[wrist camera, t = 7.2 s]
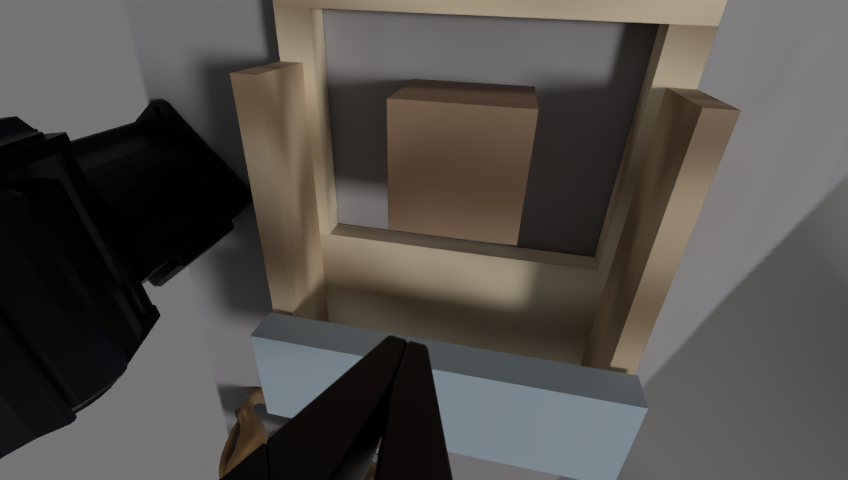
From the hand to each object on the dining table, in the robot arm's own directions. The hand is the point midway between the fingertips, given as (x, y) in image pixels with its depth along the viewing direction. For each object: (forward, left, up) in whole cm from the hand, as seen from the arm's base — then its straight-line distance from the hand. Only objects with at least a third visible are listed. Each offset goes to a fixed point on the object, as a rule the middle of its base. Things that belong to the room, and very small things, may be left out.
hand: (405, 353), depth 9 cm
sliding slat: (+7, -6, -7) cm, 11 cm away
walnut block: (-1, +1, -12) cm, 12 cm away
